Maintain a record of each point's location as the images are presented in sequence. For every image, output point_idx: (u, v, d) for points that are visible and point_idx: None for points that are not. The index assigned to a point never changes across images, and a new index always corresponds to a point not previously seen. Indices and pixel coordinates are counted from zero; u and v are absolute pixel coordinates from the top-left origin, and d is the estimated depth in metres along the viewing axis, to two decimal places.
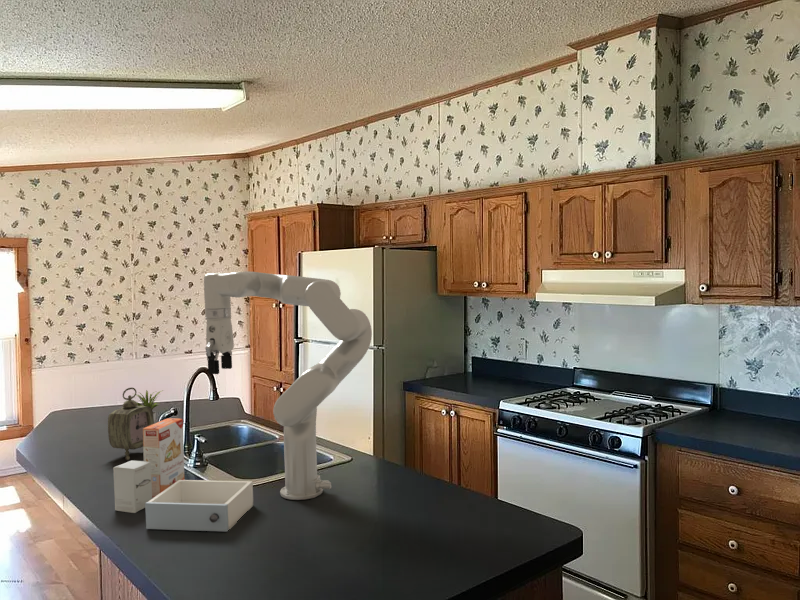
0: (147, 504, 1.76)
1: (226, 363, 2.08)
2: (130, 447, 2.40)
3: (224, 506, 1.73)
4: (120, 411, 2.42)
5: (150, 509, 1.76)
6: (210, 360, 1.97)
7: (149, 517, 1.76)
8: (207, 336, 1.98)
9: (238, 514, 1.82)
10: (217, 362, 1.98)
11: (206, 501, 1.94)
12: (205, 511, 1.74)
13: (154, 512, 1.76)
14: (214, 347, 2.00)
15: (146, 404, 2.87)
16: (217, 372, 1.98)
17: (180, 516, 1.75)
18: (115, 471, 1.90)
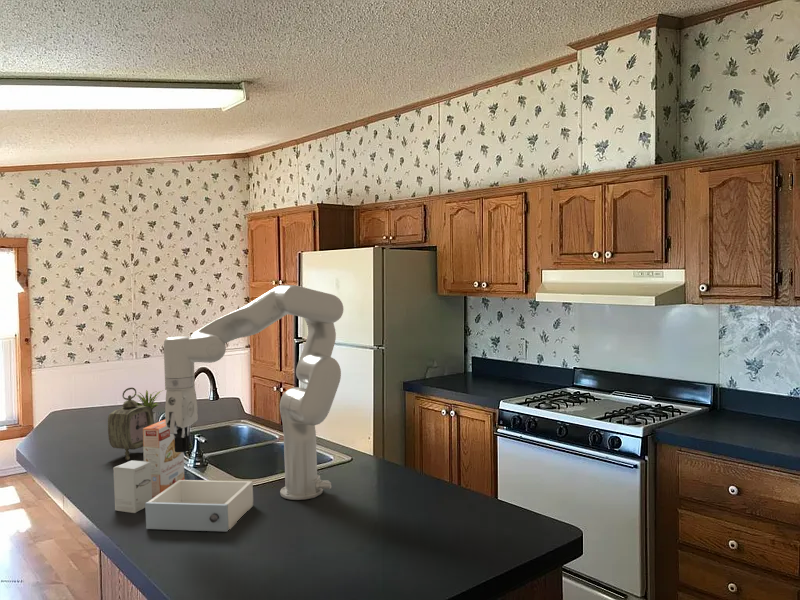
0: (147, 504, 1.76)
1: None
2: (130, 447, 2.40)
3: (224, 506, 1.73)
4: (120, 411, 2.42)
5: (150, 509, 1.76)
6: (177, 437, 1.79)
7: (149, 517, 1.76)
8: (166, 409, 1.75)
9: (238, 514, 1.82)
10: (185, 439, 1.80)
11: (206, 501, 1.94)
12: (205, 511, 1.74)
13: (154, 512, 1.76)
14: None
15: (146, 404, 2.87)
16: (185, 450, 1.80)
17: (180, 516, 1.75)
18: (115, 471, 1.90)
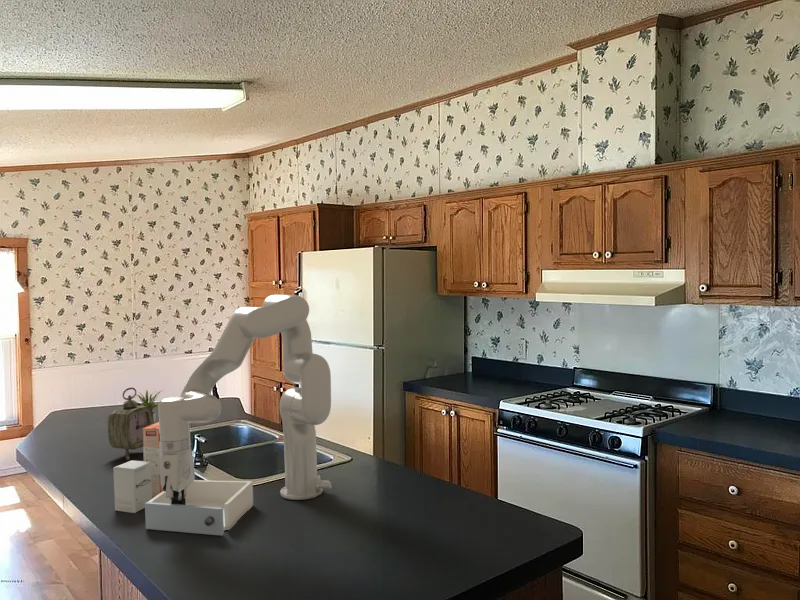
0: (146, 504, 1.76)
1: None
2: (130, 447, 2.40)
3: (219, 510, 1.71)
4: (120, 411, 2.42)
5: (149, 509, 1.76)
6: (173, 500, 1.76)
7: (148, 517, 1.76)
8: (162, 473, 1.73)
9: (238, 514, 1.82)
10: (181, 502, 1.77)
11: (206, 501, 1.94)
12: (201, 514, 1.72)
13: (153, 512, 1.76)
14: None
15: (146, 404, 2.87)
16: None
17: (177, 517, 1.74)
18: (115, 471, 1.90)
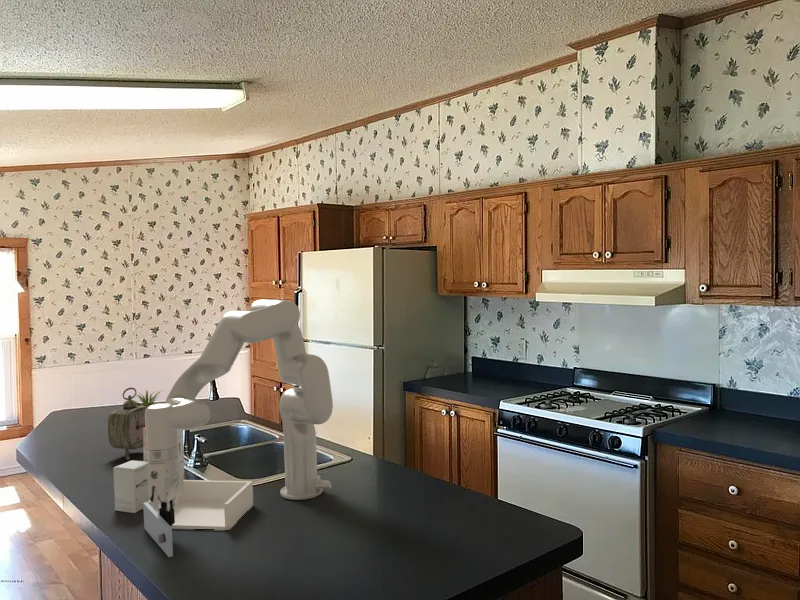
0: (143, 504, 1.76)
1: None
2: (130, 447, 2.40)
3: (167, 529, 1.59)
4: (120, 411, 2.42)
5: (144, 510, 1.76)
6: (162, 511, 1.69)
7: (144, 517, 1.76)
8: (149, 483, 1.66)
9: (238, 514, 1.82)
10: (170, 512, 1.70)
11: (206, 501, 1.94)
12: (161, 528, 1.63)
13: (146, 514, 1.75)
14: None
15: (146, 404, 2.87)
16: (170, 524, 1.70)
17: (153, 525, 1.69)
18: (115, 471, 1.90)
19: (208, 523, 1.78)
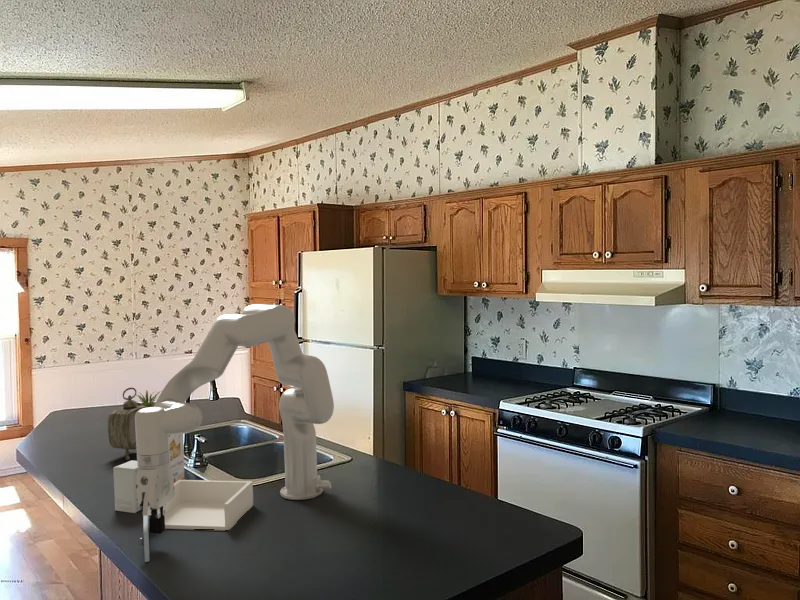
0: None
1: None
2: (130, 447, 2.40)
3: None
4: (120, 411, 2.42)
5: None
6: (151, 518, 1.64)
7: None
8: (138, 489, 1.61)
9: (238, 514, 1.82)
10: (160, 519, 1.65)
11: (206, 501, 1.94)
12: None
13: None
14: None
15: (146, 404, 2.87)
16: (160, 531, 1.65)
17: None
18: (115, 471, 1.90)
19: (208, 523, 1.78)
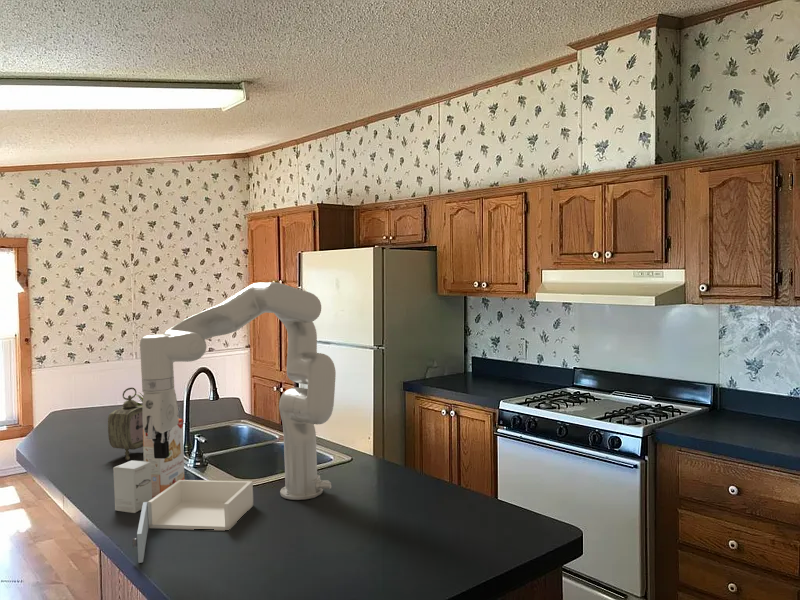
0: None
1: None
2: (130, 447, 2.40)
3: (137, 534, 1.56)
4: (120, 411, 2.42)
5: None
6: (156, 443, 1.67)
7: None
8: (143, 413, 1.64)
9: (238, 514, 1.82)
10: (164, 444, 1.68)
11: (206, 501, 1.94)
12: None
13: None
14: None
15: None
16: (165, 456, 1.68)
17: None
18: (115, 471, 1.90)
19: (208, 523, 1.78)
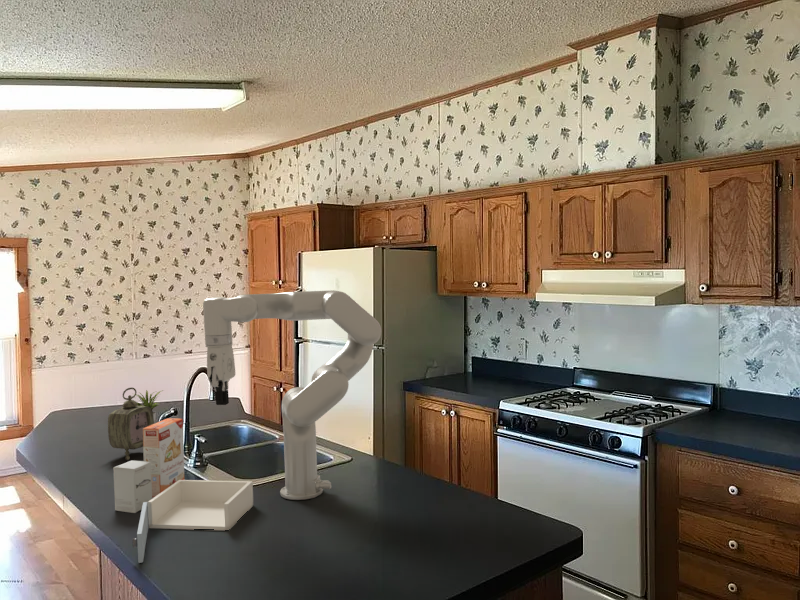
0: None
1: None
2: (130, 447, 2.40)
3: (137, 534, 1.56)
4: (120, 411, 2.42)
5: None
6: (218, 391, 1.93)
7: None
8: (208, 364, 1.89)
9: (238, 514, 1.82)
10: (225, 393, 1.93)
11: (206, 501, 1.94)
12: None
13: None
14: None
15: (146, 404, 2.87)
16: (225, 403, 1.94)
17: None
18: (115, 471, 1.90)
19: (208, 523, 1.78)
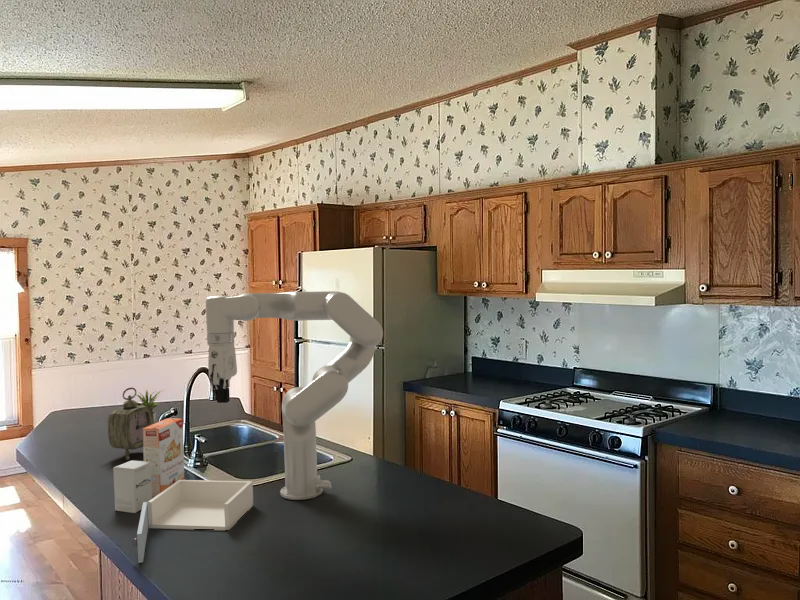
0: None
1: None
2: (130, 447, 2.40)
3: (137, 534, 1.56)
4: (120, 411, 2.42)
5: None
6: (219, 389, 1.94)
7: None
8: (209, 362, 1.90)
9: (238, 514, 1.82)
10: (226, 390, 1.94)
11: (206, 501, 1.94)
12: None
13: None
14: None
15: (146, 404, 2.87)
16: (226, 401, 1.94)
17: None
18: (115, 471, 1.90)
19: (208, 523, 1.78)
